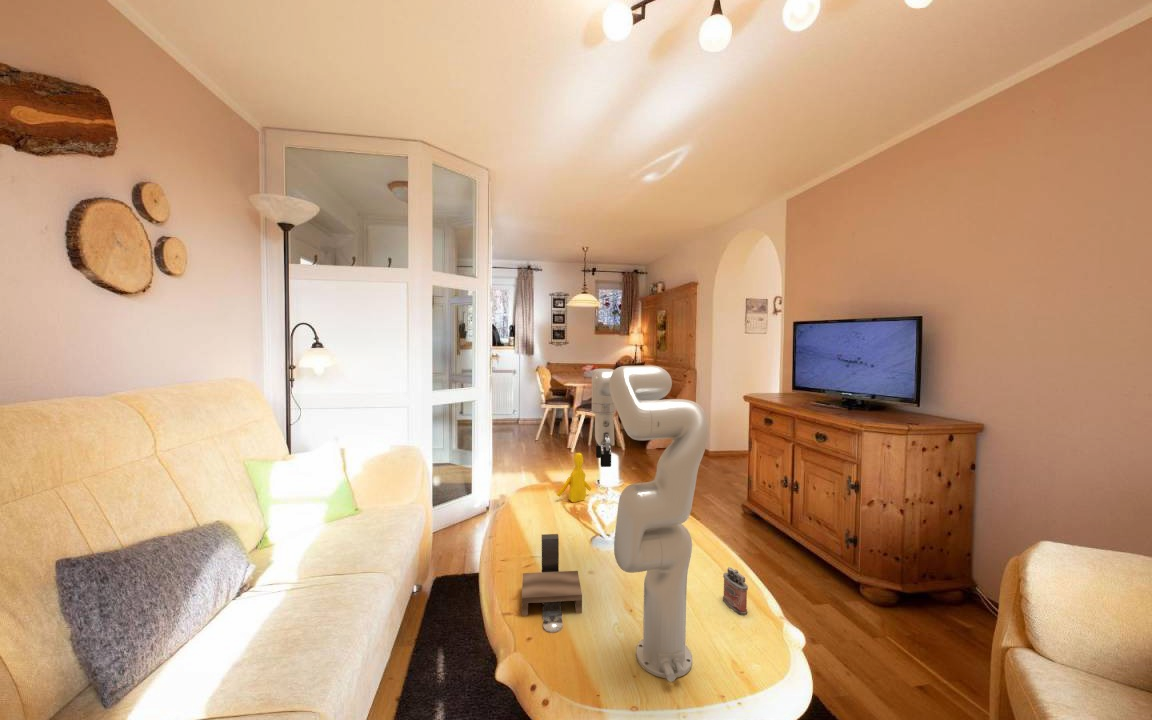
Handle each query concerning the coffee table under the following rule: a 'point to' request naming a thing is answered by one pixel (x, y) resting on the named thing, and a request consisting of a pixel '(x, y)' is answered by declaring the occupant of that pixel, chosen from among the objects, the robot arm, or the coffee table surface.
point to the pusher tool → (550, 570)
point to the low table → (551, 588)
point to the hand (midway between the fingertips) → (603, 462)
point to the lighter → (735, 591)
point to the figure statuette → (576, 481)
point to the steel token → (552, 624)
